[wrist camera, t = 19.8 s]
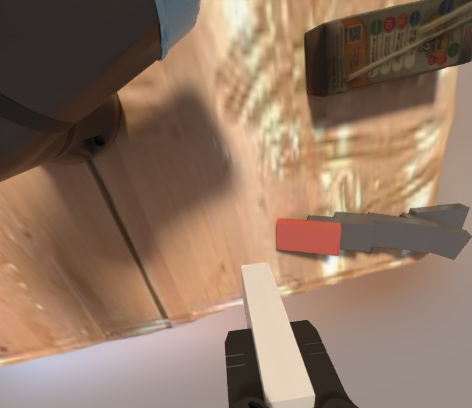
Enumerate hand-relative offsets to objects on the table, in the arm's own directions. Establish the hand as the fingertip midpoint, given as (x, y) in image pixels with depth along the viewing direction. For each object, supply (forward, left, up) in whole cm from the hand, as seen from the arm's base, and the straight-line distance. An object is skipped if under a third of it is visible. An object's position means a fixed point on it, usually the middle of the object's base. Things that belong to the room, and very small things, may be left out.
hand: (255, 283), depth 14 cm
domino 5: (+30, -14, -25) cm, 41 cm away
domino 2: (+18, -13, -26) cm, 34 cm away
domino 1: (+13, -13, -25) cm, 31 cm away
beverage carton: (+21, +14, -27) cm, 37 cm away
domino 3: (+24, -14, -26) cm, 38 cm away
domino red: (+8, -13, -26) cm, 30 cm away
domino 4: (+32, -14, -26) cm, 44 cm away
